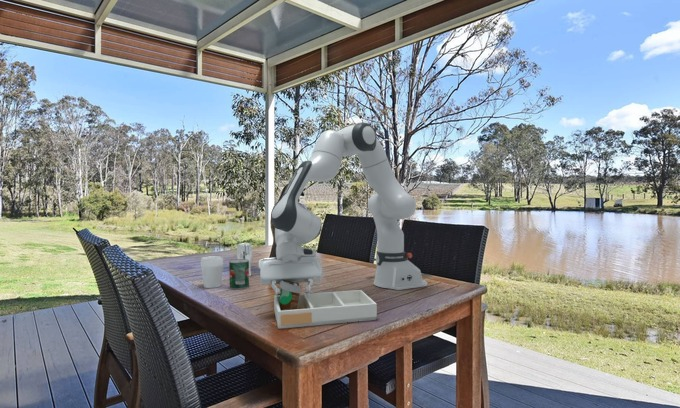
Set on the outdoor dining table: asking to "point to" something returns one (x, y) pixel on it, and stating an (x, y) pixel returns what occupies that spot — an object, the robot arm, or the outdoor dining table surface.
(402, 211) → the robot arm
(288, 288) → the food container
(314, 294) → the tray
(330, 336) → the outdoor dining table surface
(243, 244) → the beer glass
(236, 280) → the canned tomato
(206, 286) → the cup
